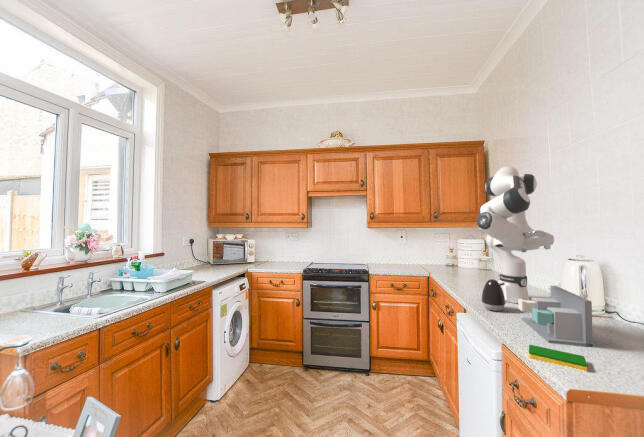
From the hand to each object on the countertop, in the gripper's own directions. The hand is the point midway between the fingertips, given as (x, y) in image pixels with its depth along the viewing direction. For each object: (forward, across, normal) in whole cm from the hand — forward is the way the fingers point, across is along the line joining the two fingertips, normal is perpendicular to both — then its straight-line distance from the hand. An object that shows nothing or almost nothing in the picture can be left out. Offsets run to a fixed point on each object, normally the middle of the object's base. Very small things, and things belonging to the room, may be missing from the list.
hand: (536, 249), depth 115 cm
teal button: (+5, -2, +29) cm, 29 cm away
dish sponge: (-5, -11, +44) cm, 46 cm away
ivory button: (+12, +9, +23) cm, 27 cm away
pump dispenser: (+15, +30, +22) cm, 40 cm away
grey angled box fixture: (+15, +2, +30) cm, 33 cm away
